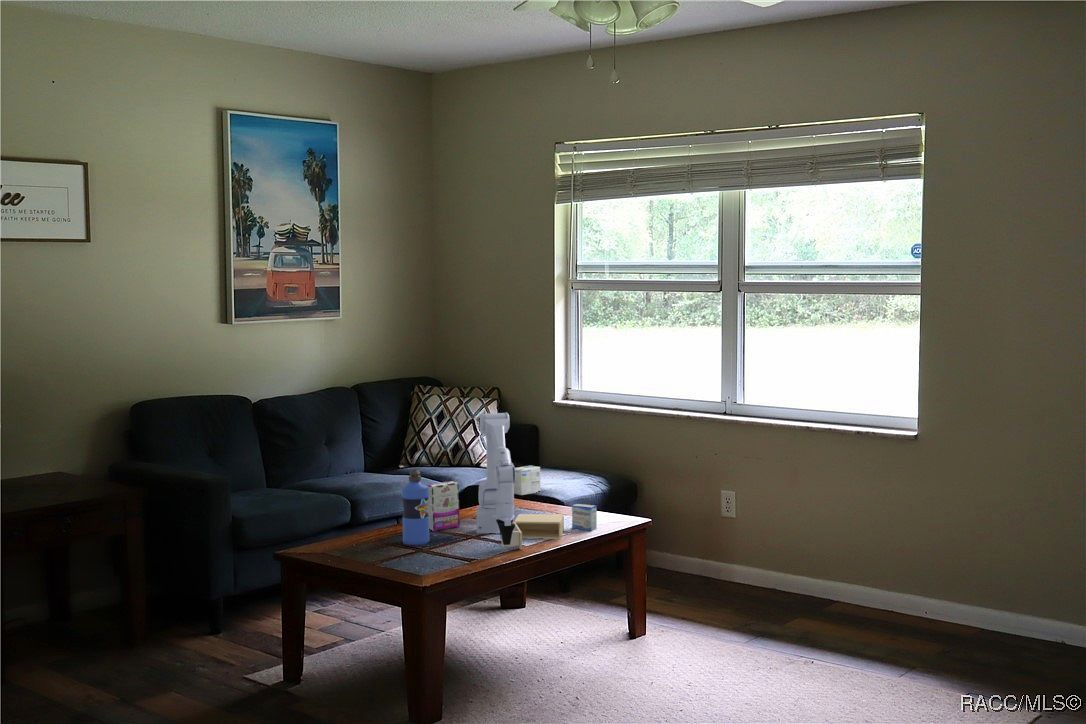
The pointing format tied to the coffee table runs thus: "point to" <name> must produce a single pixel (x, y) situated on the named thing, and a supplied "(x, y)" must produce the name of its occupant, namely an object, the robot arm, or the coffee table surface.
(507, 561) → the coffee table surface
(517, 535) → the cream block
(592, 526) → the medicine box
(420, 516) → the water bottle
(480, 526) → the robot arm
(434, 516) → the candy bar box
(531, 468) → the light bulb box
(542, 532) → the carton
